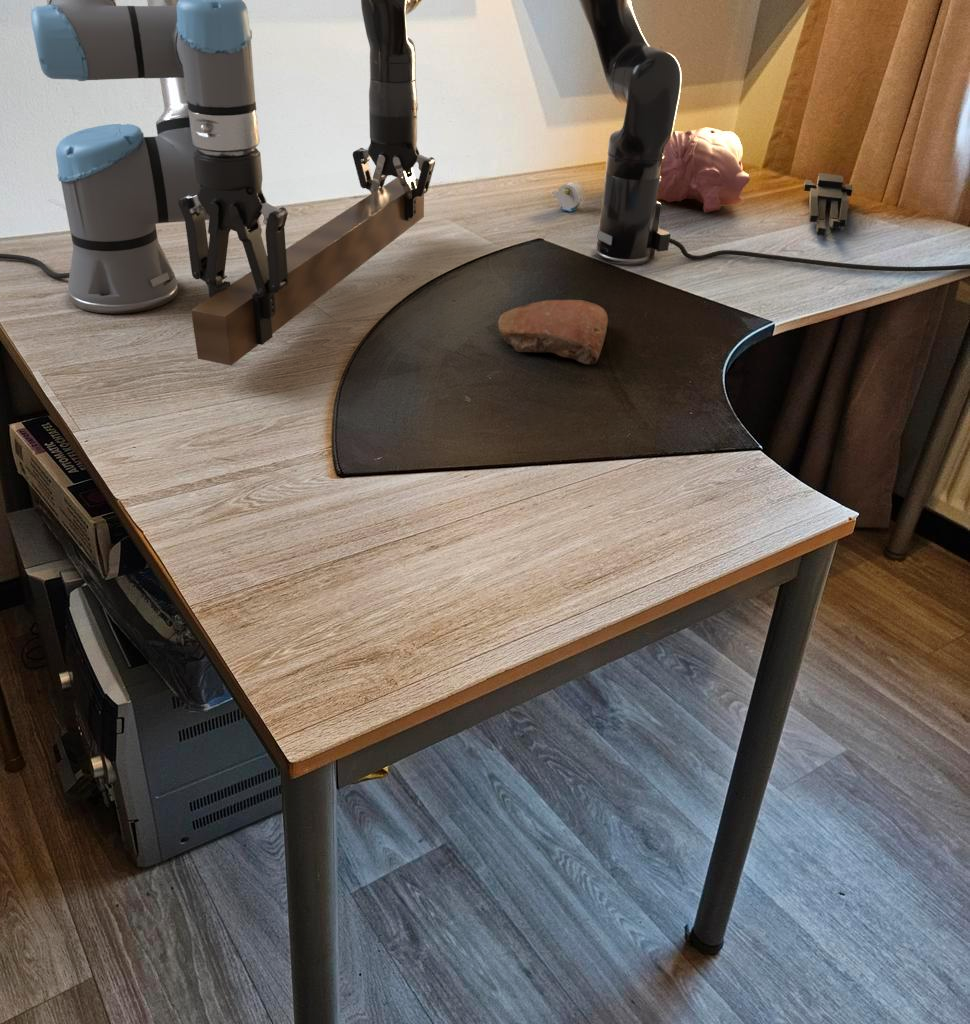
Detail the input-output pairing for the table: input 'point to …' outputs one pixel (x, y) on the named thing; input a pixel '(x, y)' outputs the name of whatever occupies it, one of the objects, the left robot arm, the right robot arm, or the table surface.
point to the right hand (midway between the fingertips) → (394, 217)
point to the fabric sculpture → (703, 168)
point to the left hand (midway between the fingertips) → (245, 336)
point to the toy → (828, 201)
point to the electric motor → (570, 196)
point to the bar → (303, 273)
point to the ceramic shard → (557, 328)
